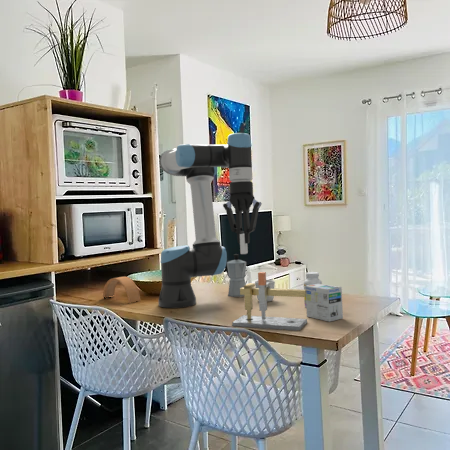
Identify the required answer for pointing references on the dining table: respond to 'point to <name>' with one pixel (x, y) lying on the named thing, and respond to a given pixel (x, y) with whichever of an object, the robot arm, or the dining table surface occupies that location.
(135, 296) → the arch
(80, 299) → the dining table surface
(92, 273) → the dining table surface
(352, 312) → the dining table surface
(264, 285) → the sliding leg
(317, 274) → the supplement bottle
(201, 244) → the robot arm
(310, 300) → the light bulb box
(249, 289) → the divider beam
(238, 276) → the coffee maker
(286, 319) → the bolt plate
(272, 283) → the cup
